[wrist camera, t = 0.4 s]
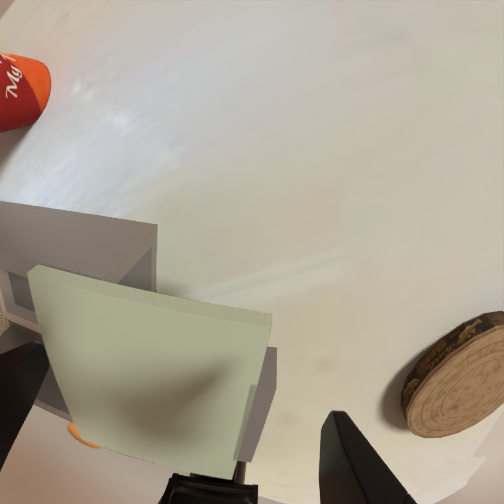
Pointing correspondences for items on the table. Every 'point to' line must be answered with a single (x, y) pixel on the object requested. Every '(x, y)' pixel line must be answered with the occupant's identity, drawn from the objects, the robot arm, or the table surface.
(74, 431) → the orange rounded cylinder
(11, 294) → the housing
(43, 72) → the paper cup
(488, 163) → the table surface
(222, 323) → the lid
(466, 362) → the wood slice coaster
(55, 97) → the table surface
